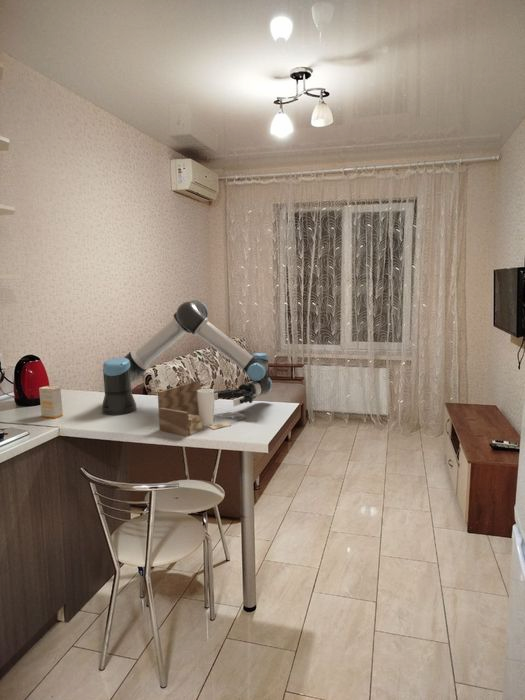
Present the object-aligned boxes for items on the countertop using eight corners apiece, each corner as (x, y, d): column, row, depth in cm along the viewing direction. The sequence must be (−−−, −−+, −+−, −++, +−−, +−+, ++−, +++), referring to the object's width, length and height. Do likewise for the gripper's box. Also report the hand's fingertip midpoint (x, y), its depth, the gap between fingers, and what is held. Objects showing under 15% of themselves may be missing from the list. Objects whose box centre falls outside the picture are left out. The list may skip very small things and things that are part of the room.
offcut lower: (190, 427, 186) (190, 419, 185) (202, 429, 182) (202, 422, 182) (178, 432, 180) (177, 424, 179) (190, 434, 176) (190, 426, 176)
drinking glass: (198, 424, 193) (197, 388, 191) (215, 424, 193) (214, 388, 191) (197, 430, 186) (196, 392, 184) (215, 429, 187) (214, 391, 184)
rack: (198, 417, 203) (197, 380, 201) (226, 422, 196) (225, 384, 193) (157, 433, 183) (155, 392, 180) (186, 439, 175) (185, 397, 173)
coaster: (218, 415, 207) (218, 413, 206) (243, 413, 208) (243, 412, 208) (219, 422, 196) (219, 420, 196) (246, 420, 197) (246, 419, 197)
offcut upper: (188, 420, 184) (188, 414, 184) (199, 421, 182) (199, 415, 182) (180, 424, 179) (179, 418, 179) (191, 426, 177) (191, 419, 177)
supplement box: (63, 415, 209) (61, 386, 208) (54, 418, 205) (52, 389, 203) (50, 414, 213) (47, 385, 211) (41, 416, 209) (38, 387, 207)
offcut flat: (225, 427, 190) (225, 422, 190) (231, 429, 187) (231, 424, 187) (208, 431, 185) (208, 426, 185) (214, 433, 182) (213, 428, 182)
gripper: (273, 402, 208) (246, 413, 190) (227, 395, 221) (197, 406, 203) (272, 385, 207) (245, 395, 189) (226, 380, 220) (197, 389, 202)
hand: (220, 401), depth 196 cm, fingers open, 13 cm apart
